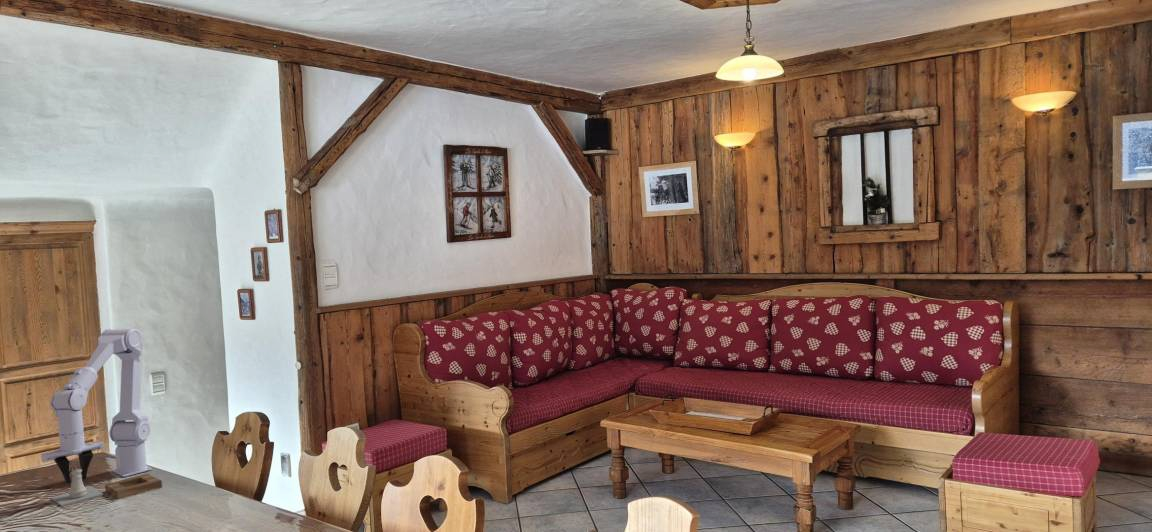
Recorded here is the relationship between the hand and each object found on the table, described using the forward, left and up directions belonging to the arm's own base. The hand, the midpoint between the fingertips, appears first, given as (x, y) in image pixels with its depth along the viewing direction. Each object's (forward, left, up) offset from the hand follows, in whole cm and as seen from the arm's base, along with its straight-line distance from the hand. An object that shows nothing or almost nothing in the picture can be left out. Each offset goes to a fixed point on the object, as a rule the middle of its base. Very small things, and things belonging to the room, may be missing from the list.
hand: (75, 480), depth 210 cm
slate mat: (0, 0, -5) cm, 5 cm away
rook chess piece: (+1, 0, -4) cm, 4 cm away
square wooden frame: (+7, +12, -5) cm, 15 cm away
